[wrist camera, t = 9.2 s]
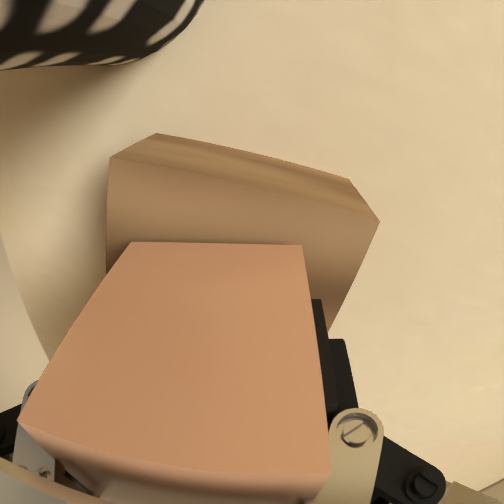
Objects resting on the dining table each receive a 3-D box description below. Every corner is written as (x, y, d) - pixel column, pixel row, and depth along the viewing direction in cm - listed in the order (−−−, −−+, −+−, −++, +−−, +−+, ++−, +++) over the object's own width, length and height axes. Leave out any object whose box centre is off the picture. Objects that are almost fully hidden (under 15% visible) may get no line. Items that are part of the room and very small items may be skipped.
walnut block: (291, 321, 19) (295, 389, 14) (142, 287, 18) (111, 348, 14) (347, 177, 14) (380, 221, 10) (158, 132, 14) (109, 157, 9)
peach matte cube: (301, 245, 10) (331, 472, 4) (289, 364, 13) (293, 530, 6) (131, 241, 10) (16, 420, 4) (158, 356, 13) (112, 507, 7)
